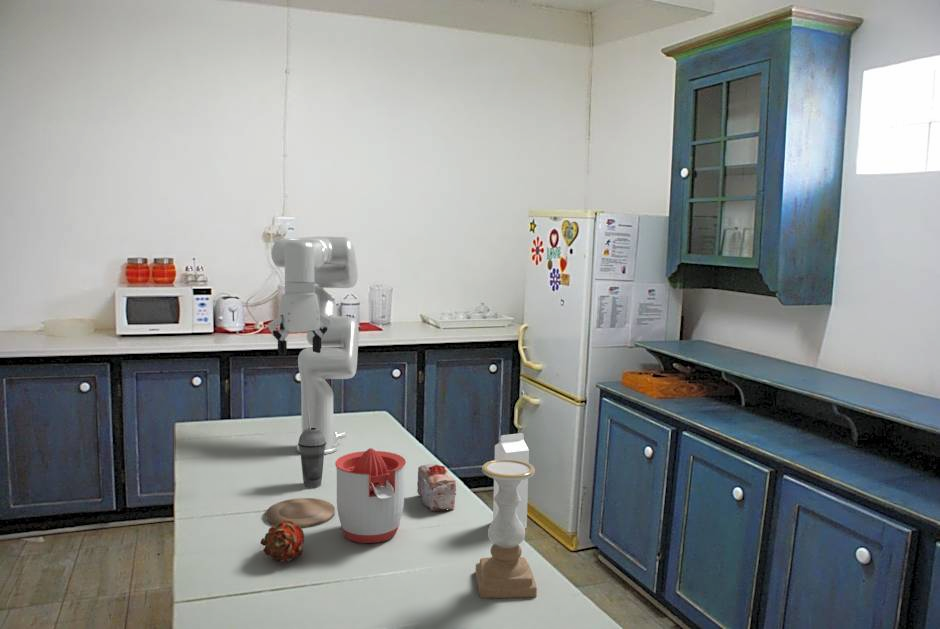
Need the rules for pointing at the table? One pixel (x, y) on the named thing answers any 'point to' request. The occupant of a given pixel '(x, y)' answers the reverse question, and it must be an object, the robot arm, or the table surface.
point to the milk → (516, 450)
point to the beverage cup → (312, 455)
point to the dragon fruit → (283, 541)
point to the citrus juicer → (370, 494)
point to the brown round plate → (301, 512)
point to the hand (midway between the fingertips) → (299, 353)
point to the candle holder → (506, 537)
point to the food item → (436, 487)
